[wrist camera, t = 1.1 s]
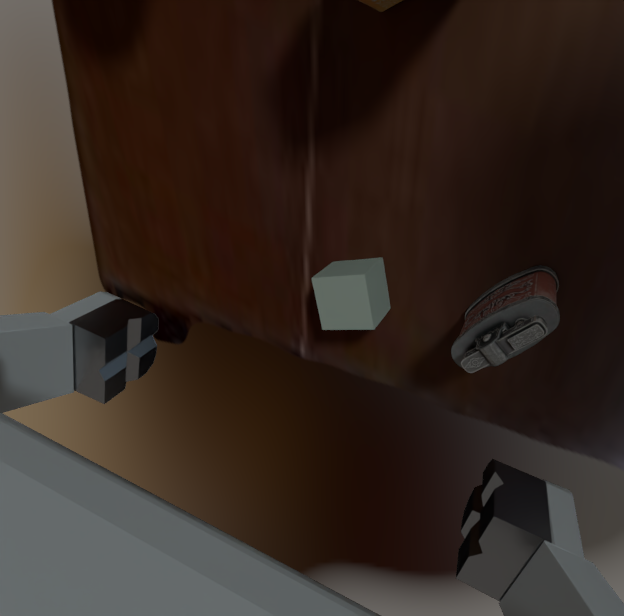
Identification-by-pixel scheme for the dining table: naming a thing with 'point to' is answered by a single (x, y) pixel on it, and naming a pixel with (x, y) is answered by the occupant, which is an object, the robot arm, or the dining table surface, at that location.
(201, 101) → the dining table surface
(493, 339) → the lighter
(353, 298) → the sage block
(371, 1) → the small box
